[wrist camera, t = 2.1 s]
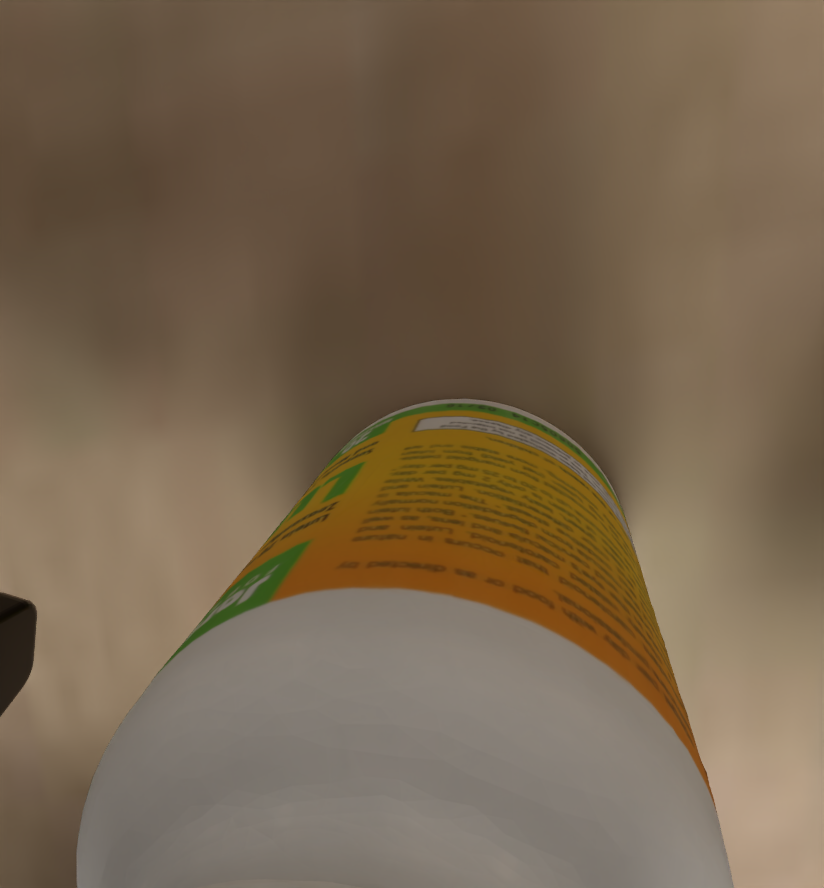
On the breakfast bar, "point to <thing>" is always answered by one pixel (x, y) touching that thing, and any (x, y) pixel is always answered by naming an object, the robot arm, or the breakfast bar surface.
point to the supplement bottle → (419, 690)
